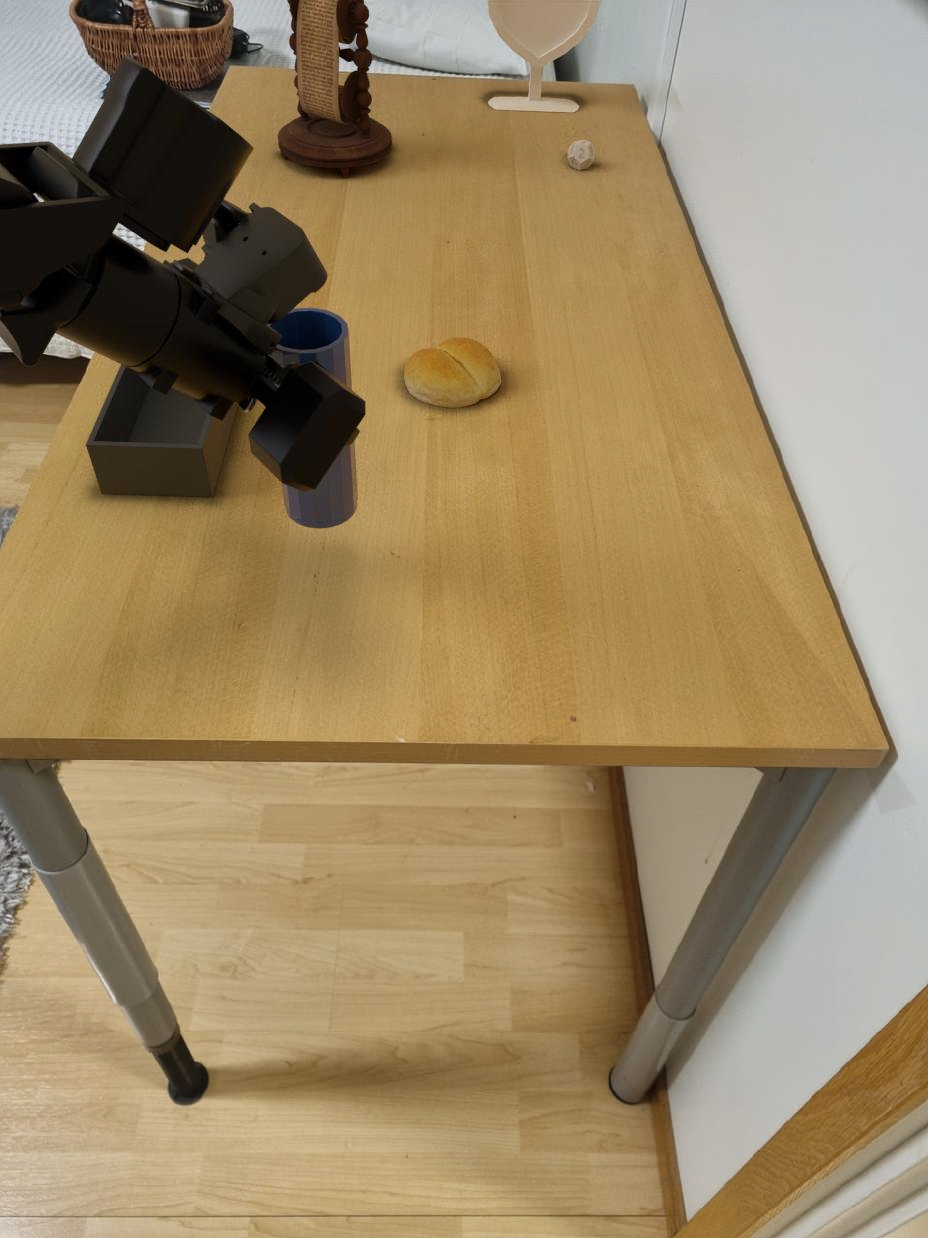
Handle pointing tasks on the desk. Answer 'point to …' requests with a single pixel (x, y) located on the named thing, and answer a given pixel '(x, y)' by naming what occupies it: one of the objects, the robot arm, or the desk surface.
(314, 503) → the cup
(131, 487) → the basket
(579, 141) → the game die
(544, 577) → the desk surface
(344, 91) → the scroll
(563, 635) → the desk surface
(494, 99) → the heart sculpture
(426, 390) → the bread roll
